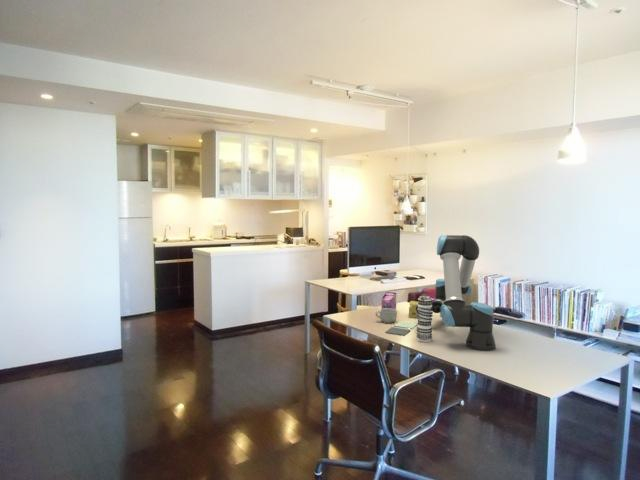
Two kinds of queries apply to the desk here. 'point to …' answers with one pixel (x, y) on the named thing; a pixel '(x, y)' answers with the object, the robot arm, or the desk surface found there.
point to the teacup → (387, 315)
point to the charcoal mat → (397, 331)
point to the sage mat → (405, 324)
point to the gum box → (389, 300)
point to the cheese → (413, 309)
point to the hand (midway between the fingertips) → (429, 313)
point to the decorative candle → (424, 319)
